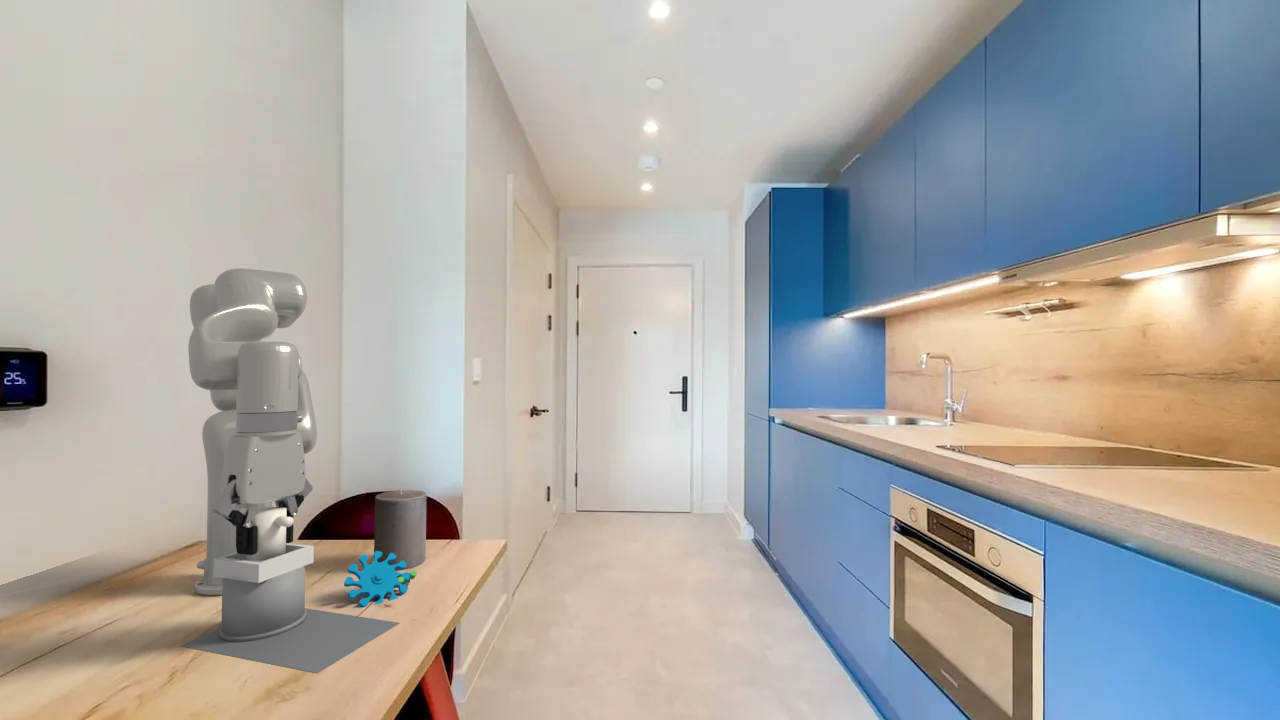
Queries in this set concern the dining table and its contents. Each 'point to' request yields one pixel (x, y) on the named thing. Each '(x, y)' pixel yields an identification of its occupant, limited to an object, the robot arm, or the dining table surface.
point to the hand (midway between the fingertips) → (265, 546)
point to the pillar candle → (401, 526)
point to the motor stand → (281, 615)
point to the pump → (270, 533)
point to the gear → (378, 579)
